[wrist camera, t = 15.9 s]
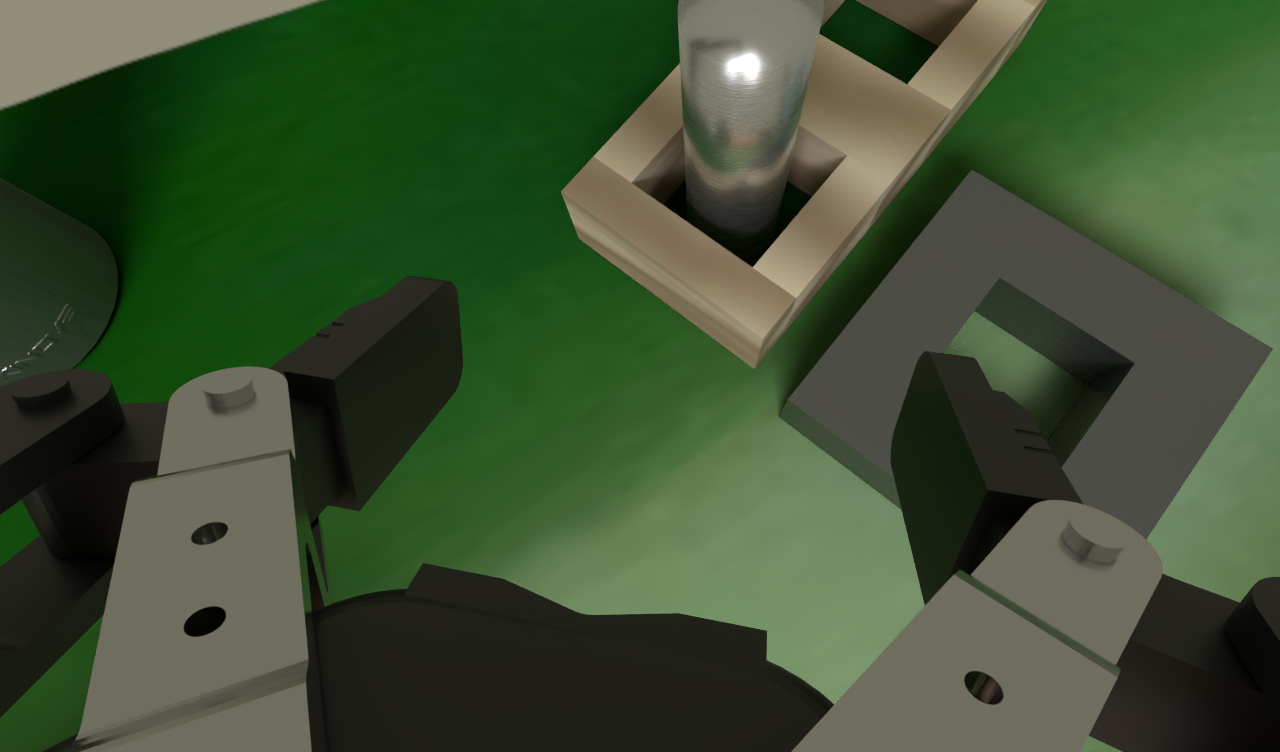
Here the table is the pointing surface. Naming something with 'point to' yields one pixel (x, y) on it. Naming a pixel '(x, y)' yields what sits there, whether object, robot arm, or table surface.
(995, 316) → the socket block
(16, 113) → the table surface
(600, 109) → the table surface
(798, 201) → the table surface
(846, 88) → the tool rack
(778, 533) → the table surface
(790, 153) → the steel peg
